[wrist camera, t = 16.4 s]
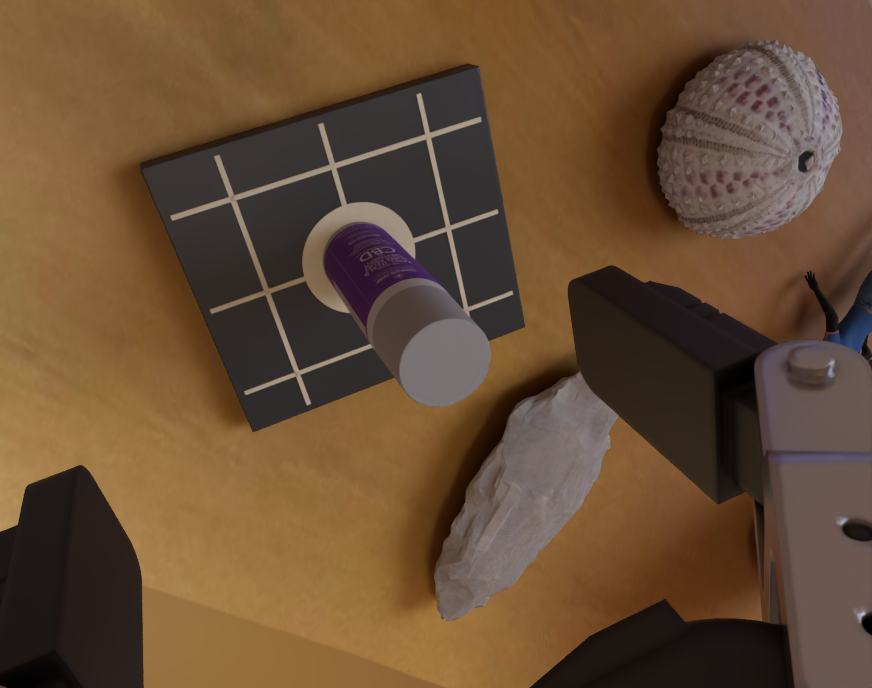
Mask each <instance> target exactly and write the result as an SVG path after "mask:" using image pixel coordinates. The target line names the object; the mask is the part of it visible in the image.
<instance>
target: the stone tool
mask: <svg viewBox="0 0 872 688" xmlns="http://www.w3.org/2000/svg"><path fill="white" fill-rule="evenodd" d="M618 417H619V415H617V414H616V413H615V412H614V411H613V410H612V409H611V408H610V407H609V406H607V405H606V404H605V403H604V402H603V401H602V400H601V399H600V398H599V397H597V396H596V395H595V394H594V393H593V392H592V391H591V389H590V388H589V387H588V385H587V384H586V382H585V380H584V378H583V376H582V374H581V372H580V371H579V372H578V373H576V374H574V375H572V376H571V377H562V378H561V379H560V380H559V381H558V382H557V383H556V384H554V385H553V386H552V387H550V388H548V389H547V390H545V391H543V392H541V393H539V394H538V395H536V396H532V397H528V398H525V399H524V400H522V401H521V402H519V403H518V404H516V406H515V408H514V409H513V411H512V412H511V414H510V416H509V417H508V420H507V426H506V429H505V432H504V435H503V437H502V439H501V441H500V442H499V443H498V444H497V445H496V447H495V448H494V449H493V450H492V451H491V453H490V454H489V455H488V457H487V458H486V459H485V460H484V462H483V463H482V465H481V468H480V470H479V472H478V473H477V475H476V476H475V477H474V478H473V479H472V481H471V482H470V484H469V486H468V488H467V490H466V499H465V503H464V505H463V508H462V510H461V512H460V513H459V514H458V515H457V517H456V518H455V520H454V521H453V523H452V525H451V534H450V535H449V536H448V537H447V538H445V539H444V543H443V548H442V553H441V555H440V557H439V559H438V560H437V562H436V567H435V573H434V580H435V583H436V591H435V594H436V598H437V608H438V612H439V613H440V614H441V618H442V619H445V620H446V621H451V620H456V619H458V618H460V617H463V616H464V615H466V614H467V613H468V612H470V611H471V610H472V609H473V608H477V607H483V606H484V605H485V604H486V602H487V601H488V599H489V598H490V597H491V596H492V595H493V594H495V593H498V592H501V591H504V590H506V589H508V588H509V587H511V586H512V585H513V584H515V583H516V582H517V581H518V579H519V577H520V575H521V574H522V573H523V571H524V570H525V568H526V567H527V566H528V565H529V564H530V563H531V562H533V561H535V558H536V555H537V553H538V552H539V551H541V550H542V549H544V548H545V547H546V546H547V544H548V543H549V542H550V541H551V540H552V539H553V538H554V537H555V536H556V535H557V534H558V533H559V531H560V530H561V529H562V528H563V527H564V525H565V524H566V523H567V522H569V520H570V519H571V518H572V516H573V515H574V513H576V512H577V511H578V510H579V509H580V508H581V506H582V504H583V500H584V498H585V497H586V495H587V494H588V493H589V492H590V490H591V487H592V484H593V483H594V482H595V481H596V480H597V479H598V476H599V473H600V470H601V464H602V458H603V456H604V455H605V453H606V451H608V450H609V449H610V448H611V445H610V440H611V439H610V437H609V435H608V432H609V431H610V429H611V427H612V425H613V424H614V422H615V421H616V419H617V418H618Z"/></svg>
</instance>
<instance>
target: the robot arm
mask: <svg viewBox="0 0 872 688" xmlns="http://www.w3.org/2000/svg"><path fill="white" fill-rule="evenodd" d="M568 300H569V307H570V314H571V321H572V328H573V335H574V342H575V349H576V357H577V362H578V366H579V369H580V372H581V374H582V376H583V378H584V380H585V382H586V384H587V385H588V387H589V388H590V389H591V391H592V392H593V393H594V394H595V395H596V396H597V397H599V398H600V399H601V400H602V401H603V402H604V403H605V404H606V405H607V406H609V407H610V408H611V409H612V410H613V411H614V412H615V413H616V414H617V415H619V416H620V417H621V418H622V419H623V420H624V421H625V422H626V423H628V424H629V425H630V426H631V427H632V428H633V429H634V430H635V431H636V432H638V433H639V434H640V435H641V436H642V437H643V438H644V439H645V440H646V441H648V442H649V443H650V444H651V445H652V446H653V447H654V448H655V449H656V450H658V451H659V452H660V453H661V454H662V455H663V456H664V457H665V458H666V459H668V460H669V461H670V462H671V463H672V464H673V465H674V466H675V467H677V468H678V469H679V470H680V471H681V472H682V473H683V474H684V475H685V476H687V477H688V478H689V479H690V480H691V481H692V482H693V483H694V484H695V485H697V486H698V487H699V488H700V489H701V490H702V491H703V492H704V493H705V494H707V495H708V496H709V497H710V498H711V499H712V500H713V501H714V502H716V503H717V504H720V503H723V502H725V501H727V500H729V499H731V498H733V497H735V496H737V495H740V494H742V493H744V492H746V493H748V494H749V495H750V496H751V497H752V498H754V525H755V538H756V550H757V562H758V574H759V586H760V598H761V610H762V621H756V620H746V619H732V618H714V619H704V620H694V621H689V622H685V621H684V620H683V619H682V618H681V617H680V616H679V615H678V613H677V612H676V611H675V610H674V609H673V608H672V606H671V605H670V604H669V603H668V602H667V601H666V599H664V600H662V601H660V602H658V603H656V604H654V605H652V606H650V607H648V608H646V609H644V610H642V611H640V612H638V613H636V614H634V615H632V616H630V617H627V618H625V619H623V620H621V621H619V622H617V623H615V624H613V625H611V626H609V627H607V628H605V629H603V630H601V631H599V632H597V633H595V634H593V635H591V636H589V637H588V638H587V639H586V640H585V641H584V642H582V643H581V644H580V645H579V646H578V647H577V648H575V649H574V650H573V651H572V652H571V653H570V654H568V655H567V656H566V657H565V658H564V659H563V660H561V661H560V662H559V663H558V664H557V665H556V666H554V667H553V668H552V669H551V670H550V671H549V672H547V673H546V674H545V675H544V676H543V677H542V678H540V679H539V680H538V681H537V682H536V683H535V684H533V685H532V686H531V687H530V688H872V360H868V361H867V360H866V359H865V358H864V357H863V356H862V355H861V354H860V353H858V352H857V351H855V350H853V349H851V348H849V347H846V346H844V345H841V344H837V343H834V342H829V341H822V340H794V341H788V342H784V343H780V344H778V343H776V342H774V341H773V340H771V339H769V338H767V337H766V336H764V335H762V334H760V333H758V332H757V331H755V330H753V329H751V328H750V327H748V326H746V325H744V324H742V323H741V322H739V321H737V320H735V319H734V318H732V317H730V316H728V315H727V314H725V313H722V314H720V312H719V310H718V309H716V308H714V307H712V306H711V305H709V304H707V303H703V304H702V302H701V300H700V299H698V298H696V297H695V296H693V295H691V294H689V293H688V292H686V291H684V290H682V289H681V288H678V287H674V286H669V285H665V284H660V283H656V282H652V281H648V282H646V283H643V282H641V281H640V280H638V279H636V278H635V277H633V276H631V275H630V274H628V273H626V272H625V271H623V270H621V269H620V268H618V267H616V266H612V265H611V266H608V267H605V268H602V269H600V270H597V271H594V272H592V273H589V274H586V275H584V276H581V277H579V278H576V279H573V280H571V281H570V283H569V285H568ZM0 688H144V686H143V624H142V577H141V570H140V566H139V562H138V559H137V556H136V553H135V550H134V548H133V545H132V543H131V541H130V539H129V538H128V536H127V534H126V532H125V531H124V529H123V527H122V526H121V524H120V522H119V521H118V519H117V517H116V515H115V514H114V512H113V510H112V509H111V507H110V505H109V504H108V502H107V500H106V498H105V497H104V495H103V493H102V492H101V490H100V488H99V487H98V485H97V483H96V481H95V480H94V478H93V477H92V475H91V474H90V472H89V471H88V470H87V469H86V468H85V467H84V466H82V465H79V466H76V467H74V468H71V469H68V470H66V471H63V472H60V473H58V474H55V475H53V476H50V477H47V478H45V479H42V480H39V481H37V482H34V483H31V484H29V485H28V486H27V487H26V489H25V493H24V498H23V503H22V507H21V512H20V517H19V522H18V525H17V526H14V527H12V528H9V529H7V530H4V531H1V532H0Z"/></svg>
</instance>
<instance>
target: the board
mask: <svg viewBox="0 0 872 688" xmlns="http://www.w3.org/2000/svg"><path fill="white" fill-rule="evenodd" d="M140 168H141V172H142V175H143V177H144V179H145V182H146V184H147V186H148V189H149V191H150V193H151V196H152V198H153V200H154V203H155V205H156V207H157V210H158V212H159V214H160V217H161V219H162V221H163V224H164V226H165V228H166V231H167V233H168V235H169V238H170V240H171V242H172V245H173V247H174V249H175V252H176V254H177V256H178V259H179V261H180V263H181V266H182V268H183V270H184V273H185V275H186V277H187V280H188V282H189V284H190V287H191V289H192V291H193V294H194V296H195V298H196V301H197V303H198V305H199V308H200V310H201V312H202V315H203V317H204V319H205V322H206V324H207V326H208V329H209V331H210V333H211V336H212V338H213V340H214V343H215V345H216V347H217V350H218V352H219V354H220V357H221V359H222V361H223V364H224V366H225V368H226V371H227V373H228V375H229V378H230V380H231V382H232V385H233V387H234V389H235V392H236V394H237V396H238V399H239V401H240V403H241V406H242V408H243V410H244V413H245V415H246V417H247V420H248V422H249V424H250V427H251V429H252V431H253V432H255V431H258V430H260V429H263V428H265V427H268V426H271V425H273V424H276V423H278V422H281V421H283V420H286V419H289V418H291V417H294V416H296V415H299V414H302V413H304V412H307V411H309V410H312V409H314V408H317V407H320V406H322V405H325V404H327V403H330V402H332V401H335V400H338V399H340V398H343V397H345V396H348V395H350V394H353V393H356V392H358V391H361V390H363V389H366V388H369V387H371V386H374V385H376V384H379V383H381V382H384V381H387V380H389V379H392V378H394V376H393V375H392V373H391V372H390V370H389V369H388V368H387V366H386V365H385V364H384V362H383V361H382V359H381V358H380V357H379V355H378V354H377V353H376V351H375V350H374V349H373V347H372V346H371V344H370V343H369V341H368V340H367V338H366V337H365V335H364V333H363V332H362V330H361V329H360V327H359V326H358V324H357V323H356V321H355V320H354V318H353V316H352V315H351V313H350V312H349V310H348V309H347V307H346V306H345V304H344V303H343V301H342V300H341V298H340V296H339V295H338V293H337V292H336V290H335V289H334V287H333V286H332V284H331V283H330V281H329V279H328V278H327V276H326V274H325V271H324V267H323V253H324V249H325V247H326V244H327V242H328V241H329V239H330V238H331V236H332V235H333V234H334V233H335V232H336V231H337V230H339V229H340V228H342V227H343V226H345V225H348V224H351V223H354V222H369V223H373V224H376V225H378V226H380V227H381V228H383V229H384V230H385V231H386V232H387V233H389V234H390V235H391V236H392V237H393V238H394V239H395V240H396V241H397V242H398V243H399V244H400V245H401V246H402V247H403V248H404V249H405V250H406V251H407V252H408V253H409V254H410V255H411V256H412V257H413V258H414V259H415V260H416V261H417V262H418V263H419V264H420V265H421V266H422V267H423V268H424V269H425V270H426V271H427V272H428V273H429V274H430V275H431V276H432V277H433V278H434V279H435V280H436V281H437V282H438V283H439V284H440V285H441V286H442V287H443V288H444V289H445V290H446V291H447V292H448V294H449V295H450V296H451V297H452V298H453V299H454V300H455V301H456V302H457V303H458V305H459V306H460V307H461V308H462V309H463V310H464V311H465V312H466V313H467V314H468V316H469V317H470V318H471V319H472V320H473V321H474V322H475V323H476V324H477V325H478V327H479V328H480V329H481V330H482V331H483V332H484V334H485V335H486V337H487V339H488V341H490V340H492V339H495V338H497V337H500V336H503V335H505V334H508V333H510V332H513V331H515V330H518V329H521V328H523V327H525V324H524V318H523V313H522V307H521V301H520V296H519V290H518V284H517V279H516V273H515V267H514V262H513V256H512V251H511V245H510V239H509V234H508V228H507V222H506V217H505V211H504V206H503V200H502V194H501V189H500V183H499V177H498V172H497V166H496V161H495V155H494V149H493V144H492V138H491V132H490V127H489V121H488V116H487V110H486V104H485V99H484V93H483V87H482V82H481V76H480V70H479V66H475V65H471V64H467V65H463V66H460V67H457V68H454V69H450V70H447V71H444V72H440V73H437V74H434V75H430V76H427V77H424V78H420V79H417V80H414V81H411V82H407V83H404V84H401V85H397V86H394V87H391V88H387V89H384V90H381V91H377V92H374V93H371V94H368V95H364V96H361V97H358V98H354V99H351V100H348V101H344V102H341V103H338V104H334V105H331V106H328V107H325V108H321V109H318V110H315V111H311V112H308V113H305V114H301V115H298V116H295V117H291V118H288V119H285V120H282V121H278V122H275V123H272V124H268V125H265V126H262V127H258V128H255V129H252V130H248V131H245V132H242V133H239V134H235V135H232V136H229V137H225V138H222V139H219V140H215V141H212V142H209V143H205V144H202V145H199V146H196V147H192V148H189V149H186V150H182V151H179V152H176V153H172V154H169V155H166V156H163V157H159V158H156V159H153V160H149V161H146V162H143V163H141V164H140Z"/></svg>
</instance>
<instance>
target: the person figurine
mask: <svg viewBox="0 0 872 688" xmlns="http://www.w3.org/2000/svg"><path fill="white" fill-rule="evenodd" d="M807 275H808V278H807V276H806V275H805V278H806V281H807V282H808V285H809V287H810V289H812V290H813V291H814V293H815V295H816V297H817V299H818V301H819V303H820V305H821V307H822V309H823V312H824V313H825V316H826V333H825V337H824V340H823V341H829V342H834V343H837V344H841V345H844V346H846V347H849V348H851V349H853V350H855V351H857V352H858V353H860V350H861V349H862V354H861V355H862V356H863V357H864V358H865V359H866V360H867V361H868V360H869V359H870V358H871V357H872V354H871V351H870V349H869V347H868V346H867V339H868V334H869V333H870V332H872V271H871V272H870V273H869V274H868V276H867V277H866V278H865V280H864V281H863V283H862V285H861V287H860V289H859V291H858V294H857V297H856V300H855V302H854V305H853V306H852V307H851V308H850V310H849V312H848V313H847V315H846V316H845V317H844V319H843V320H842V321H841V322H840V323H839V324H838V316H837V314H836V312H835V311H834V309H833V307H832V306H831V304H830V303H829V302H828V300H827V299H826V298H825V296H824V295H823V294H822V292H821V291H820V290H819V288H818V283H817V281H816V279H815V273H814V274H813V278H812V272H811V271H810V275H809V272H807ZM808 279H809V280H808Z"/></svg>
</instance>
